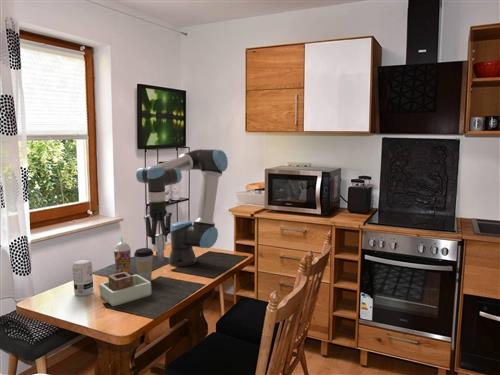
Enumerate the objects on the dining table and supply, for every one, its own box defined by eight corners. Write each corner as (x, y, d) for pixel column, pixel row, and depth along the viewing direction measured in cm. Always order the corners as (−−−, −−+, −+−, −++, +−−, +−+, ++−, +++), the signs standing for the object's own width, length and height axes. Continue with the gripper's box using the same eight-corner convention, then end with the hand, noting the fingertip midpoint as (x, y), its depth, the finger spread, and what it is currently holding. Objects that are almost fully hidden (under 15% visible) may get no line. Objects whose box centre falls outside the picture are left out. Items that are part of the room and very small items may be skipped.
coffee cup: (149, 283, 202) (148, 253, 199) (131, 282, 204) (130, 252, 201) (157, 276, 211) (156, 248, 209) (140, 275, 213) (139, 247, 210)
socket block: (126, 291, 191) (125, 271, 190) (134, 297, 185) (132, 276, 184) (109, 296, 186) (108, 275, 185) (116, 302, 180) (115, 280, 179)
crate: (137, 286, 198) (136, 274, 197) (151, 294, 188) (150, 282, 187) (100, 296, 186) (99, 283, 186) (113, 306, 176) (112, 292, 175)
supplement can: (74, 291, 193) (72, 260, 190) (93, 288, 196) (91, 257, 194) (74, 297, 185) (72, 265, 183) (94, 294, 188) (92, 263, 186)
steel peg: (161, 257, 196) (160, 233, 194) (165, 259, 193) (164, 234, 191) (154, 259, 194) (153, 234, 192) (158, 261, 191) (157, 236, 189)
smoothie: (119, 278, 209) (117, 239, 206) (112, 274, 215) (110, 236, 212) (134, 274, 214) (132, 236, 211) (127, 270, 220) (125, 233, 217)
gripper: (169, 197, 197) (171, 244, 201) (136, 201, 187) (139, 251, 190) (177, 199, 192) (179, 248, 195) (144, 204, 181) (147, 255, 185)
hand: (159, 249), depth 193 cm, fingers closed on steel peg, 3 cm apart
